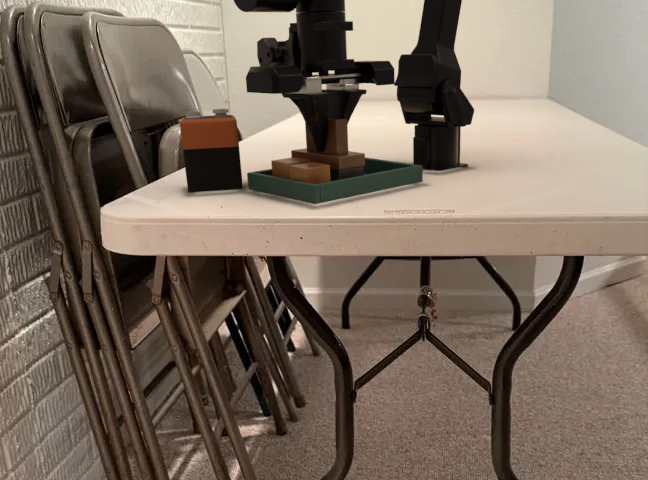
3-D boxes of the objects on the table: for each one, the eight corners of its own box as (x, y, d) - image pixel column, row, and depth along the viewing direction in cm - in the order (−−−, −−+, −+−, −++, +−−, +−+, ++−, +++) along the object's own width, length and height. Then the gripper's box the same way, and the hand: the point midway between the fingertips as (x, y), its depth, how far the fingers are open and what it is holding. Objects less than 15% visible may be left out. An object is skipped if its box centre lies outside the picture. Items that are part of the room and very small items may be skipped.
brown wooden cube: (273, 188, 90) (295, 184, 92) (289, 192, 87) (312, 188, 90) (271, 160, 89) (294, 157, 91) (287, 163, 86) (310, 159, 88)
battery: (243, 192, 91) (235, 110, 87) (188, 196, 89) (178, 112, 86) (241, 186, 95) (234, 107, 91) (188, 189, 93) (179, 109, 90)
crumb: (314, 190, 88) (312, 161, 87) (331, 194, 86) (330, 164, 84) (290, 194, 86) (288, 165, 85) (307, 199, 83) (305, 168, 82)
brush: (318, 177, 95) (315, 114, 92) (366, 186, 88) (364, 119, 85) (292, 182, 92) (288, 117, 89) (340, 191, 86) (337, 122, 83)
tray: (353, 173, 102) (352, 155, 101) (422, 185, 92) (422, 165, 91) (248, 192, 91) (246, 172, 90) (315, 208, 81) (314, 185, 80)
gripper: (337, 15, 94) (342, 137, 100) (213, 15, 83) (227, 153, 88) (396, 12, 87) (398, 144, 92) (269, 11, 75) (280, 162, 81)
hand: (327, 150), depth 89 cm, fingers closed on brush, 2 cm apart
